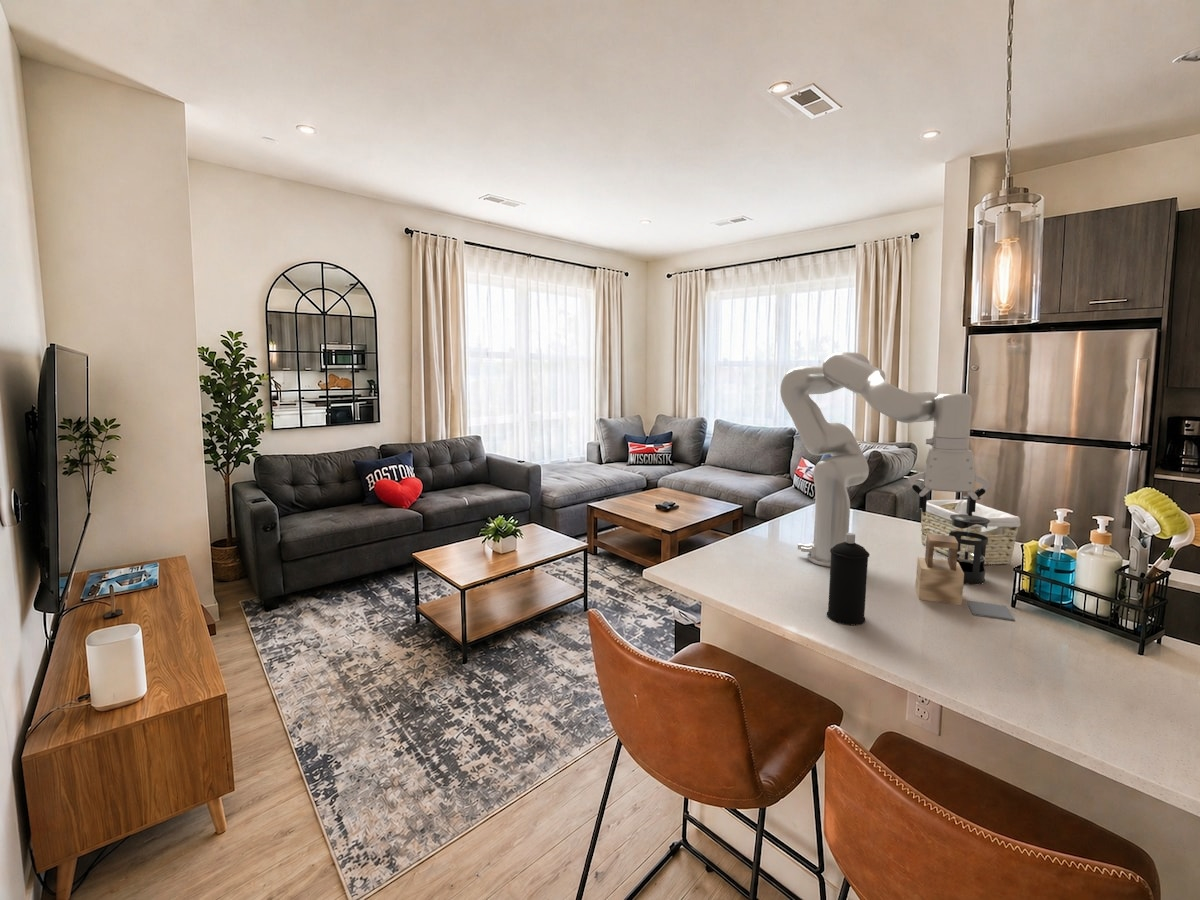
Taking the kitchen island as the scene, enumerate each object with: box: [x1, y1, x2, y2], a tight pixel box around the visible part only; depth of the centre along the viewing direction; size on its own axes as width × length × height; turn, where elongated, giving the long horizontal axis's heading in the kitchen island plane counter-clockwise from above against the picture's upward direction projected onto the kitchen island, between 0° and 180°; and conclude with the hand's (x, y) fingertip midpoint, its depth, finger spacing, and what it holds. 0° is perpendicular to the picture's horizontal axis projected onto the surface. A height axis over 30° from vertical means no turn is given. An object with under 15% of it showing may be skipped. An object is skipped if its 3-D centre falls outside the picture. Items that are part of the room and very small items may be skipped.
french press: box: [948, 494, 990, 585], centre depth 150 cm, size 12×9×23 cm
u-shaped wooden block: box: [924, 534, 958, 571], centre depth 138 cm, size 6×6×7 cm
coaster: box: [966, 599, 1016, 622], centre depth 131 cm, size 8×8×1 cm
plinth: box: [915, 556, 964, 606], centre depth 140 cm, size 9×9×8 cm
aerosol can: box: [826, 532, 870, 626], centre depth 127 cm, size 8×8×20 cm
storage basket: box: [919, 499, 1021, 566], centre depth 171 cm, size 24×16×15 cm
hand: (946, 513), depth 137 cm, fingers open, 9 cm apart
